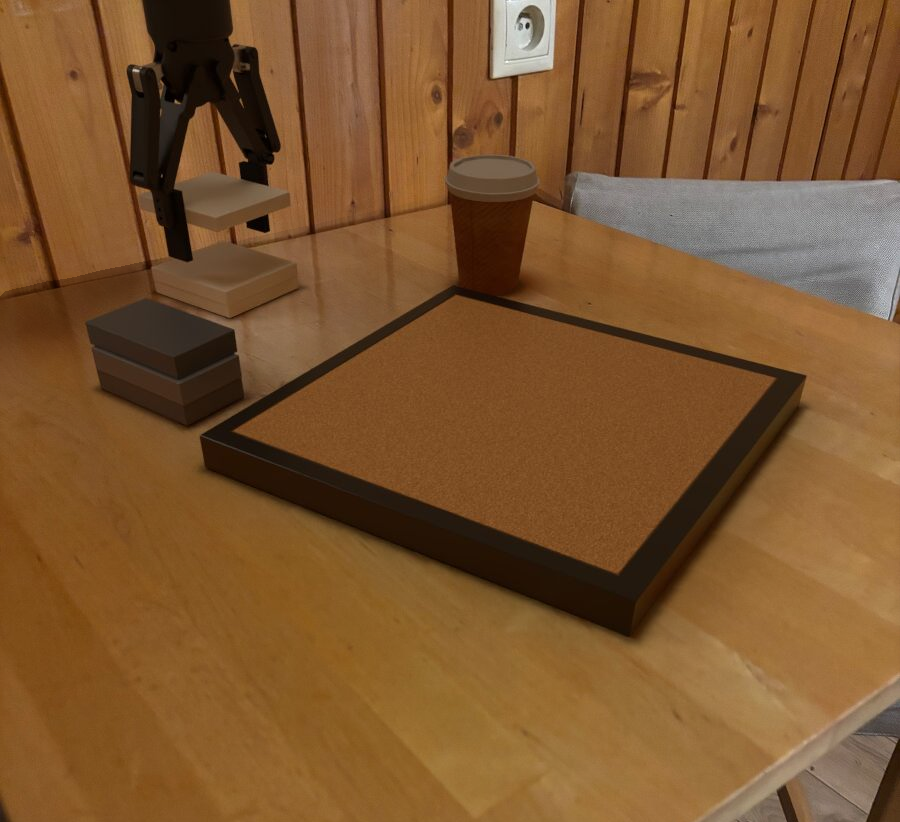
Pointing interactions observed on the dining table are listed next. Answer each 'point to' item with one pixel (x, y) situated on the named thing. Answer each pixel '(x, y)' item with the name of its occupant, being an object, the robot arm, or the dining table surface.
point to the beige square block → (226, 278)
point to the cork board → (518, 446)
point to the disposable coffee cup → (490, 219)
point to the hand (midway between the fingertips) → (220, 243)
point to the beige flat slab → (223, 201)
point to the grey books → (166, 360)
